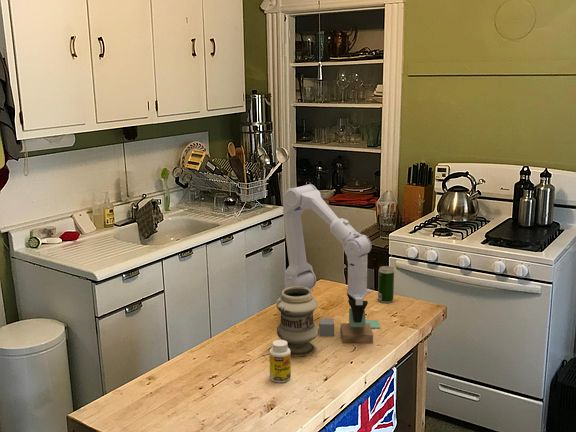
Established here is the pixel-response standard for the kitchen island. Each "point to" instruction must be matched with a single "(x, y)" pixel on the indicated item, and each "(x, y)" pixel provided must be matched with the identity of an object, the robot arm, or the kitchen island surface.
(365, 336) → the walnut block
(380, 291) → the beer can
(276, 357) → the supplement bottle
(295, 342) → the apothecary jar
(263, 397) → the kitchen island surface
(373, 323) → the teal square tile
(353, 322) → the teal block
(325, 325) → the slate block
